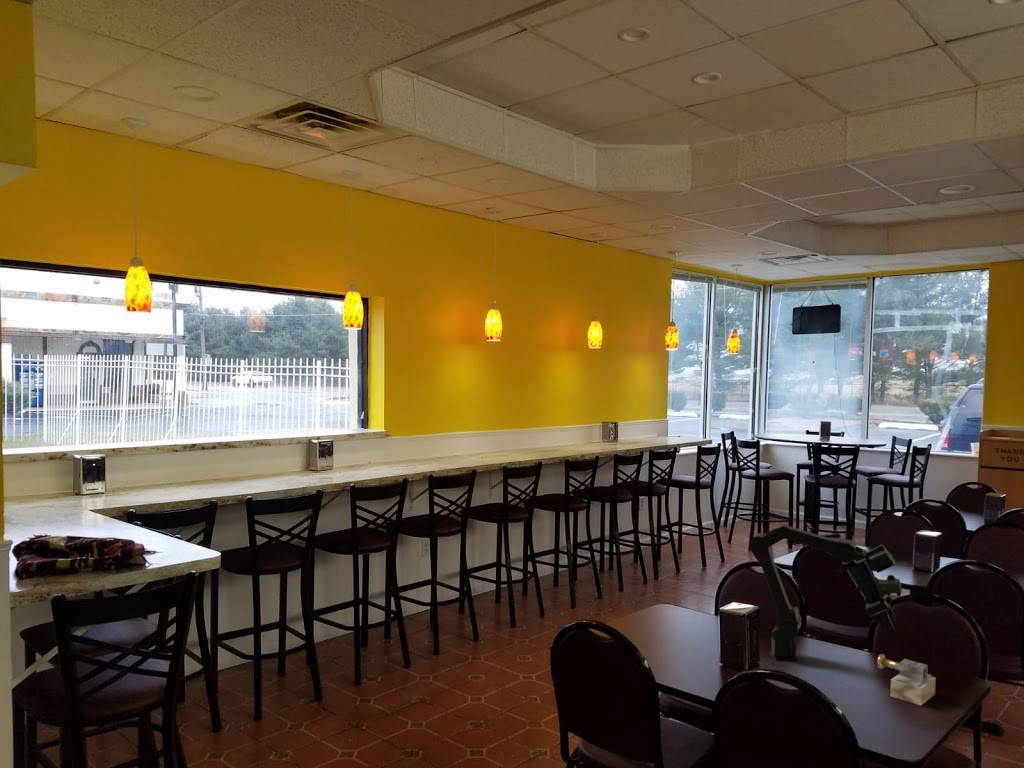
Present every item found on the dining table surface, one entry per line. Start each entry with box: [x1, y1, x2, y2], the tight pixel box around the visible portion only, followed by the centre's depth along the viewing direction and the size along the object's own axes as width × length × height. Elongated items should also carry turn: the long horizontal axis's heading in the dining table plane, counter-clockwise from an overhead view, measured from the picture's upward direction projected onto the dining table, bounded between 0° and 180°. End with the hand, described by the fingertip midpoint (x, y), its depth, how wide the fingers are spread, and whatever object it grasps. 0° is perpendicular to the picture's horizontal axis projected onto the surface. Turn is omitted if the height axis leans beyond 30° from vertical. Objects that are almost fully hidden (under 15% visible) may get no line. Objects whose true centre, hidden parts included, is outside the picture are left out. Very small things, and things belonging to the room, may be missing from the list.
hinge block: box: [890, 658, 936, 706], centre depth 214 cm, size 8×11×9 cm
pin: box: [876, 653, 900, 671], centre depth 218 cm, size 9×4×4 cm, turn 43°
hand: (893, 627), depth 227 cm, fingers open, 9 cm apart
